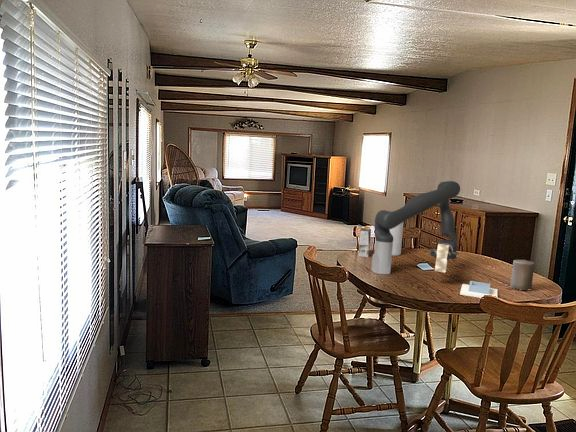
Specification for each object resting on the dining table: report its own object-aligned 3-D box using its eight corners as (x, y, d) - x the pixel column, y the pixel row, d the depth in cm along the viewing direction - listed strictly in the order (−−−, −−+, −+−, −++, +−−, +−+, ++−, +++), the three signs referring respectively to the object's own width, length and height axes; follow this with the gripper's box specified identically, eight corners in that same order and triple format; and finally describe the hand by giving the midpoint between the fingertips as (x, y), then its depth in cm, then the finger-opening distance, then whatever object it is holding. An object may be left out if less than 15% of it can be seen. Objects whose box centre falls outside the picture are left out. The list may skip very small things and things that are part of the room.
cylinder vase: (396, 251, 312) (399, 213, 309) (403, 256, 300) (407, 216, 297) (377, 251, 310) (381, 213, 306) (384, 255, 298) (388, 216, 294)
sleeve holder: (460, 294, 223) (460, 285, 223) (462, 286, 238) (463, 277, 237) (497, 300, 217) (498, 291, 217) (497, 291, 232) (498, 283, 231)
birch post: (434, 271, 237) (437, 245, 235) (435, 268, 242) (438, 243, 240) (445, 272, 235) (448, 246, 233) (446, 270, 240) (449, 245, 238)
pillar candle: (535, 291, 236) (539, 261, 234) (516, 290, 235) (520, 261, 233) (524, 286, 245) (527, 257, 243) (506, 285, 244) (509, 256, 243)
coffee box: (368, 257, 291) (370, 231, 289) (358, 256, 292) (360, 230, 290) (369, 254, 300) (371, 229, 298) (358, 253, 301) (360, 228, 299)
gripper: (431, 242, 253) (427, 247, 237) (460, 246, 247) (458, 251, 232) (430, 256, 254) (425, 262, 238) (458, 260, 248) (456, 266, 233)
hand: (441, 256), depth 235 cm, fingers closed on birch post, 5 cm apart
